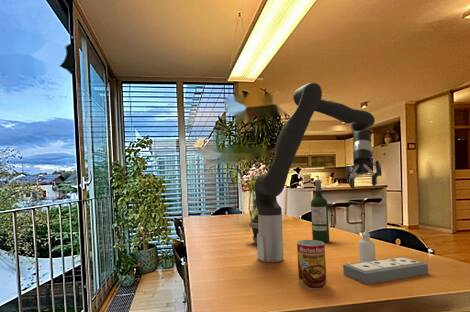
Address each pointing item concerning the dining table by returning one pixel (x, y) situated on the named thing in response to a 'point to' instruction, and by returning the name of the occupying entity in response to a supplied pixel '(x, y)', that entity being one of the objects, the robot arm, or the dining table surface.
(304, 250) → the canned food
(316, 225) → the wine bottle
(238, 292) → the dining table surface
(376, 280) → the tile board
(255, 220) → the flowerpot
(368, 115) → the robot arm
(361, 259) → the eye dropper bottle
